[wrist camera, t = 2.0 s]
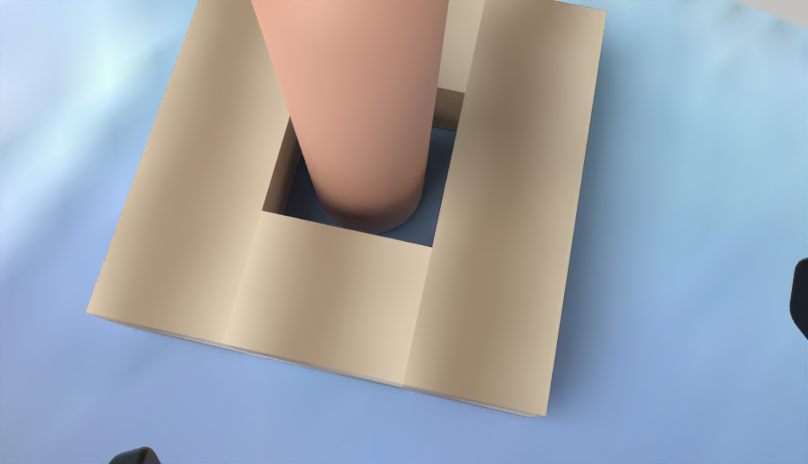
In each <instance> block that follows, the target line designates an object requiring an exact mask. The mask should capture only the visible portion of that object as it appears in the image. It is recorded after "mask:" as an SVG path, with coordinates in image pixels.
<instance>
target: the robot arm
mask: <svg viewBox="0 0 808 464" xmlns="http://www.w3.org/2000/svg"><path fill="white" fill-rule="evenodd" d="M790 313H791V317H792V319H793V321H794V323H795V324H796V326H797V327H798V328H799V329H800V331H801V332H802V333H803V335H804V336H805V337H806V338H807V340H808V258H805V259H802V260H801V261H799V262H798V264H797V265H796V267H795V271H794V278H793V285H792V292H791V299H790ZM109 464H161V463H160V461H159V459H158V457H157V455H156V454H155V452H154V451H153V450H152V449H151V448H149V447H141V448H138V449H134V450H131V451H127V452H124V453H120V454H118V455H116V456H115V457H114V458H113V459H112V460H111V461H110V463H109Z"/></svg>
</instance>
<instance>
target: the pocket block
mask: <svg viewBox="0 0 808 464" xmlns="http://www.w3.org/2000/svg"><path fill="white" fill-rule="evenodd" d="M606 12H607V11H604V10H599V9H594V8H589V7H584V6H579V5H574V4H569V3H564V2H559V1H554V0H449V4H448V12H447V19H446V26H445V34H444V41H443V48H442V55H441V63H440V70H439V77H438V85H437V92H436V99H435V107H434V114H433V121H432V126H434V127H438V128H443V129H448V130H453V131H457V132H456V137H455V141H454V146H453V151H452V155H451V160H450V165H449V169H448V174H447V179H446V183H445V188H444V193H443V197H442V202H441V207H440V212H439V216H438V221H437V226H436V230H435V235H434V240H433V244H432V247H428V246H423V245H418V244H414V243H409V242H404V241H400V240H395V239H391V238H386V237H381V236H377V235H372V234H367V233H363V232H358V231H353V230H349V229H344V228H340V227H335V226H330V225H326V224H321V223H316V222H312V221H307V220H302V219H298V218H293V217H289V216H284V214H285V210H286V207H287V203H288V200H289V196H290V192H291V189H292V185H293V182H294V178H295V175H296V171H297V168H298V164H299V161H300V157H301V154H302V150H301V147H300V144H299V141H298V138H297V135H296V132H295V129H294V126H293V123H292V120H291V117H290V114H289V111H288V108H287V105H286V102H285V99H284V97H283V94H282V91H281V88H280V85H279V82H278V79H277V76H276V73H275V70H274V67H273V64H272V61H271V58H270V55H269V52H268V49H267V46H266V43H265V40H264V37H263V34H262V31H261V28H260V25H259V22H258V19H257V16H256V13H255V10H254V7H253V4H252V1H251V0H198V3H197V6H196V9H195V11H194V14H193V17H192V20H191V22H190V25H189V28H188V31H187V33H186V36H185V39H184V42H183V45H182V47H181V50H180V53H179V56H178V58H177V61H176V64H175V67H174V69H173V72H172V75H171V78H170V81H169V83H168V86H167V89H166V92H165V94H164V97H163V100H162V103H161V106H160V108H159V111H158V114H157V117H156V119H155V122H154V125H153V128H152V130H151V133H150V136H149V139H148V142H147V144H146V147H145V150H144V153H143V155H142V158H141V161H140V164H139V166H138V169H137V172H136V175H135V178H134V180H133V183H132V186H131V189H130V191H129V194H128V197H127V200H126V202H125V205H124V208H123V211H122V214H121V216H120V219H119V222H118V225H117V227H116V230H115V233H114V236H113V238H112V241H111V244H110V247H109V250H108V252H107V255H106V258H105V261H104V263H103V266H102V269H101V272H100V274H99V277H98V280H97V283H96V286H95V288H94V291H93V294H92V297H91V299H90V302H89V305H88V308H87V310H86V313H88V314H91V315H94V316H97V317H100V318H103V319H106V320H109V321H111V322H114V323H117V324H120V325H123V326H126V327H130V328H135V329H139V330H144V331H148V332H153V333H157V334H161V335H166V336H170V337H175V338H179V339H184V340H188V341H192V342H197V343H201V344H206V345H210V346H215V347H219V348H223V349H228V350H232V351H237V352H241V353H246V354H250V355H254V356H259V357H263V358H268V359H272V360H277V361H281V362H285V363H290V364H294V365H299V366H303V367H308V368H312V369H316V370H321V371H325V372H330V373H334V374H339V375H343V376H347V377H352V378H356V379H361V380H365V381H370V382H374V383H378V384H383V385H387V386H392V387H396V388H401V389H405V390H409V391H414V392H418V393H423V394H427V395H432V396H436V397H440V398H445V399H449V400H454V401H458V402H463V403H467V404H471V405H476V406H480V407H485V408H489V409H494V410H498V411H502V412H507V413H511V414H516V415H520V416H525V417H534V416H546V412H547V406H548V399H549V392H550V386H551V379H552V372H553V366H554V359H555V352H556V346H557V339H558V332H559V326H560V319H561V312H562V306H563V299H564V292H565V286H566V279H567V272H568V266H569V259H570V252H571V246H572V239H573V232H574V226H575V219H576V212H577V206H578V199H579V192H580V186H581V179H582V172H583V166H584V159H585V152H586V146H587V139H588V132H589V126H590V119H591V112H592V106H593V99H594V92H595V86H596V79H597V72H598V66H599V59H600V52H601V46H602V39H603V32H604V26H605V19H606Z"/></svg>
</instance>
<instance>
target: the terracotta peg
mask: <svg viewBox="0 0 808 464" xmlns="http://www.w3.org/2000/svg"><path fill="white" fill-rule="evenodd" d="M251 1H252V4H253V7H254V10H255V13H256V16H257V19H258V22H259V25H260V28H261V31H262V34H263V37H264V40H265V43H266V46H267V49H268V52H269V55H270V58H271V61H272V64H273V67H274V70H275V73H276V76H277V79H278V82H279V85H280V88H281V91H282V94H283V97H284V99H285V102H286V105H287V108H288V111H289V114H290V117H291V120H292V123H293V126H294V129H295V132H296V135H297V138H298V141H299V144H300V147H301V150H302V153H303V156H304V159H305V162H306V165H307V168H308V171H309V174H310V177H311V180H312V183H313V186H314V189H315V192H316V195H317V198H318V200H319V203H320V205H321V207H322V209H323V211H324V212H325V213H326V215H327V216H328V217H329V218H330V219H331V220H332V221H333V222H334V223H336V224H337V225H339V226H340V227H342V228H344V229H349V230H353V231H358V232H363V233H367V234H380V233H384V232H387V231H390V230H393V229H395V228H397V227H398V226H400V225H401V224H403V223H404V222H405V221H406V220H408V219H409V218H410V217H411V215H412V214H413V213H414V212H415V210H416V208H417V207H418V205H419V203H420V200H421V197H422V194H423V187H424V180H425V172H426V165H427V158H428V151H429V143H430V136H431V129H432V121H433V114H434V107H435V99H436V92H437V85H438V77H439V70H440V63H441V55H442V48H443V41H444V34H445V26H446V19H447V12H448V4H449V0H251Z"/></svg>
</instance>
